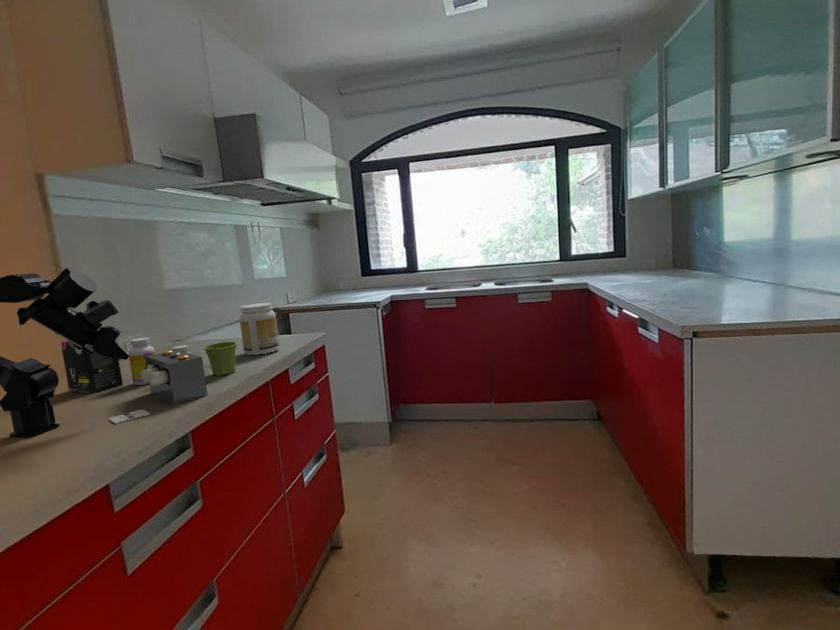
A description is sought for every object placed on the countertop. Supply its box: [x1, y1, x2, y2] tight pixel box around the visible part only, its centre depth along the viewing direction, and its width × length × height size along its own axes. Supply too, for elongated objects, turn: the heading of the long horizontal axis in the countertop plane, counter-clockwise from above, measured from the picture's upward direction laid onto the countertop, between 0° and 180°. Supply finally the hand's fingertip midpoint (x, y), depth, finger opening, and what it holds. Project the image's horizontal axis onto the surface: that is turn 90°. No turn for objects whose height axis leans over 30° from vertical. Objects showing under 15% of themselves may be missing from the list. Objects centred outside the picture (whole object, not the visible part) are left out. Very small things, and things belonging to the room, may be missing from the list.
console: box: [145, 350, 208, 405], centre depth 126 cm, size 8×17×11 cm, turn 46°
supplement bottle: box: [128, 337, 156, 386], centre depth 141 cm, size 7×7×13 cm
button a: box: [148, 370, 169, 386], centre depth 118 cm, size 4×3×3 cm
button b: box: [141, 367, 160, 383], centre depth 122 cm, size 4×3×3 cm
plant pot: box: [202, 341, 238, 377], centre depth 145 cm, size 9×9×9 cm
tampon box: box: [60, 339, 124, 395], centre depth 138 cm, size 11×9×15 cm
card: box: [108, 409, 151, 425], centre depth 111 cm, size 7×5×1 cm
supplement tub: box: [239, 302, 281, 356], centre depth 172 cm, size 12×12×17 cm
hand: (127, 357), depth 114 cm, fingers closed
